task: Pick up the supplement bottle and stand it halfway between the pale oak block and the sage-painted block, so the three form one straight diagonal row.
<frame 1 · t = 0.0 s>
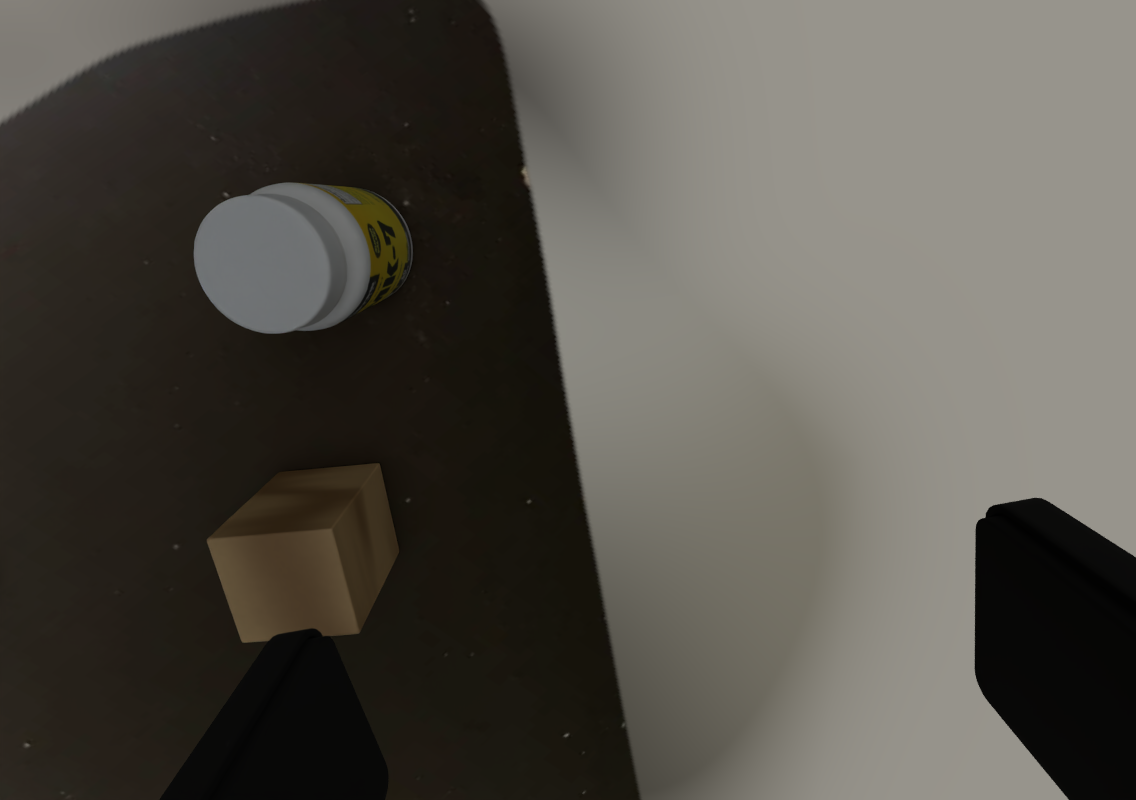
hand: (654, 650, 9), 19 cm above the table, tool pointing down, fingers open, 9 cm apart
oak block: (340, 512, 29), on the table
supplement bottle: (361, 245, 25), on the table
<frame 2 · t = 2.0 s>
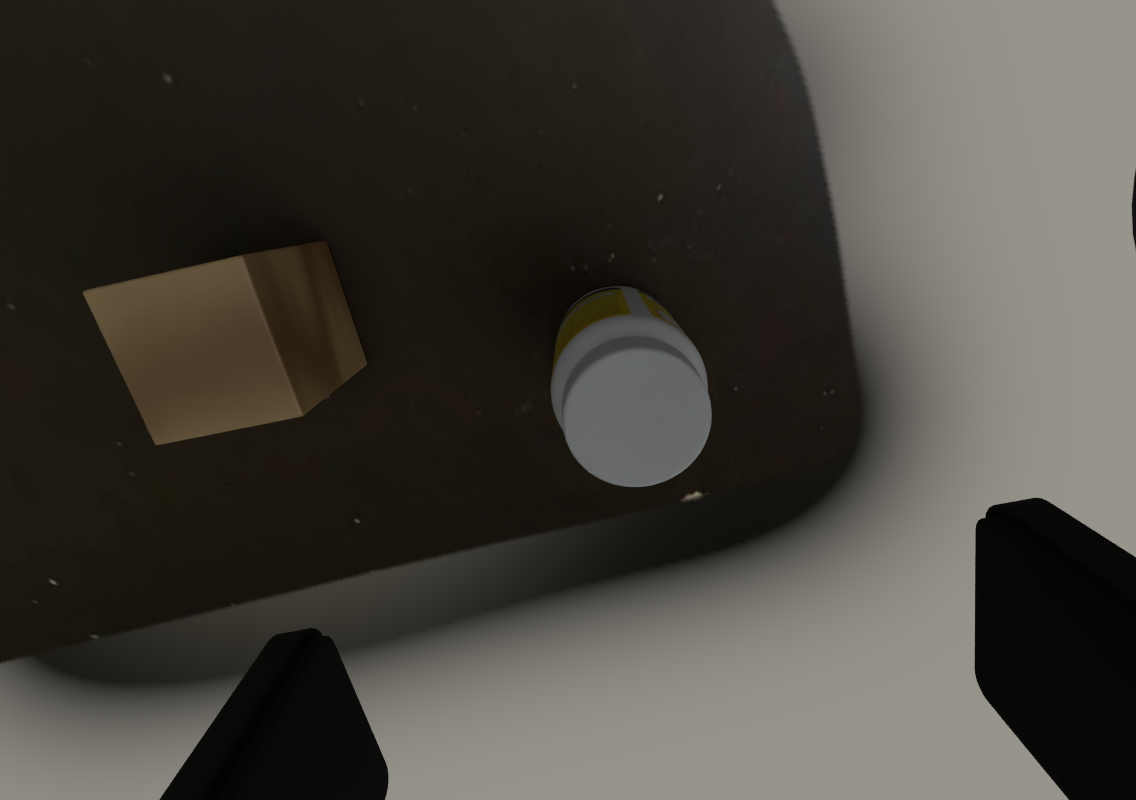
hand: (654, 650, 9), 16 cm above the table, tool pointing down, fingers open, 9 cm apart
oak block: (288, 317, 23), on the table
supplement bottle: (616, 343, 24), on the table
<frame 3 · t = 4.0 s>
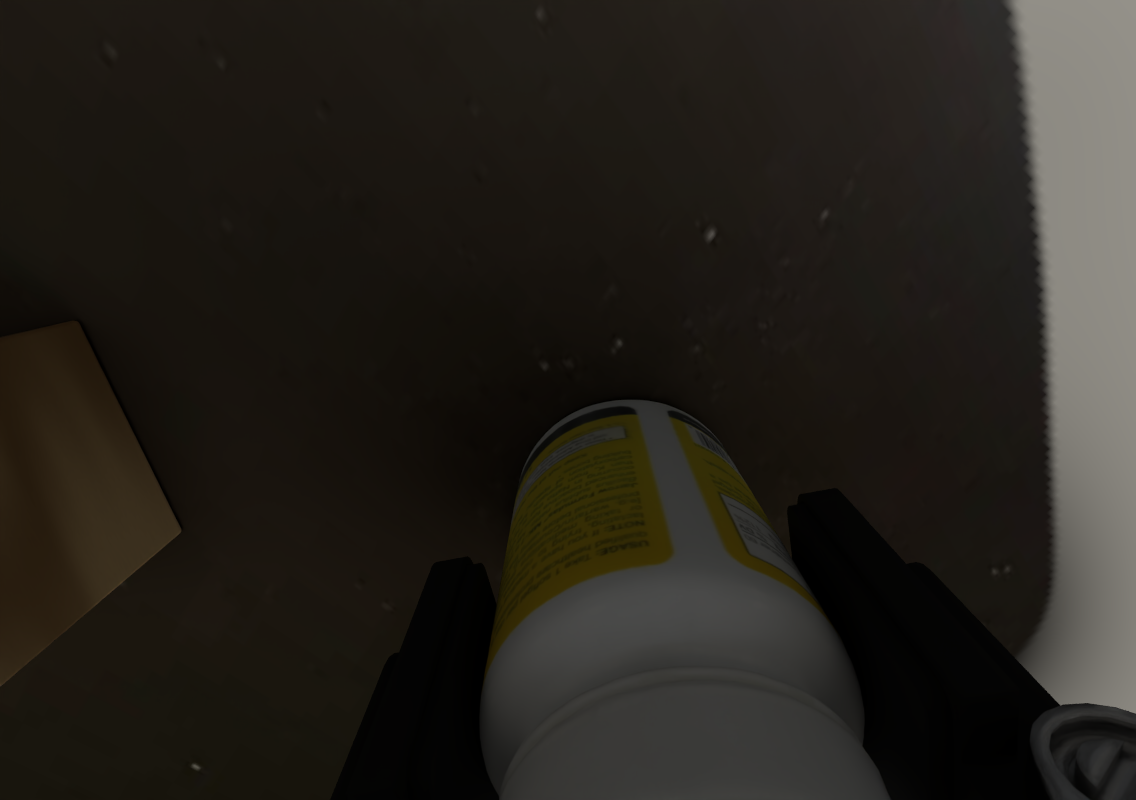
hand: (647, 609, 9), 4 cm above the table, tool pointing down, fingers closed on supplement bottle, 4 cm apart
oak block: (29, 454, 13), on the table
supplement bottle: (625, 491, 13), on the table, touching gripper
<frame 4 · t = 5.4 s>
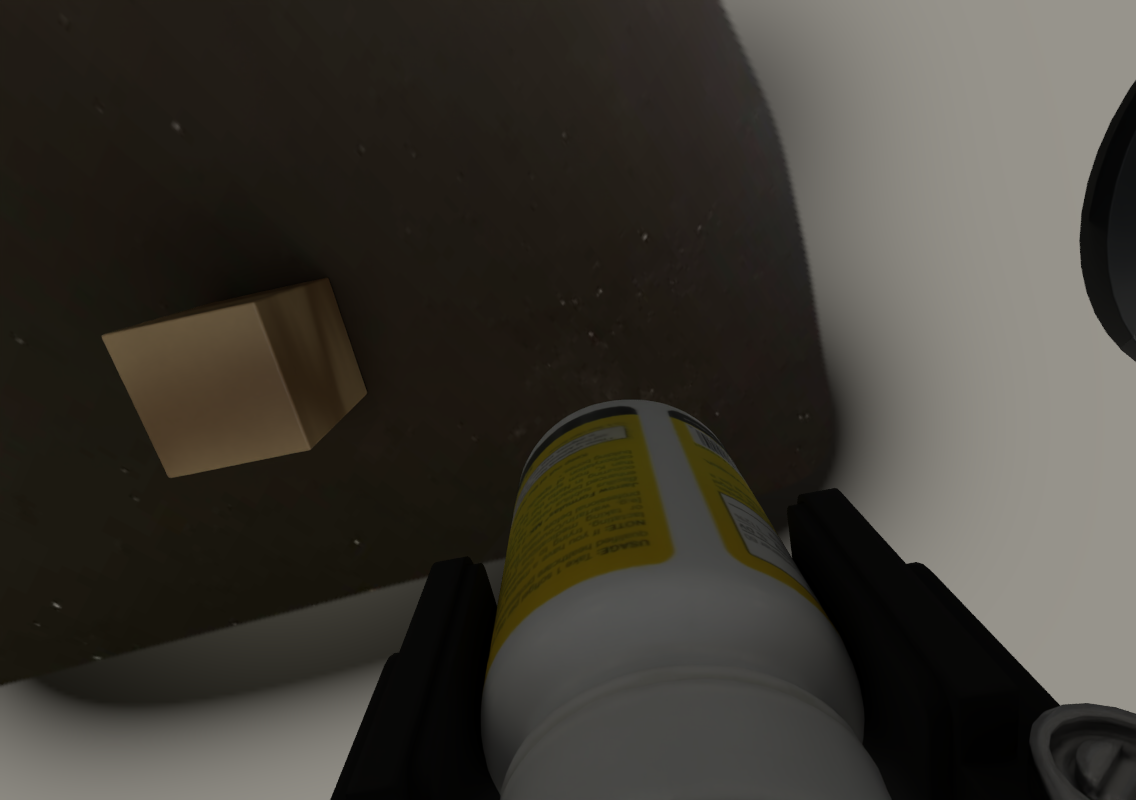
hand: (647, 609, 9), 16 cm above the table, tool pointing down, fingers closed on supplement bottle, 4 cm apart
oak block: (291, 349, 24), on the table
supplement bottle: (626, 490, 13), point 12 cm above the table, touching gripper
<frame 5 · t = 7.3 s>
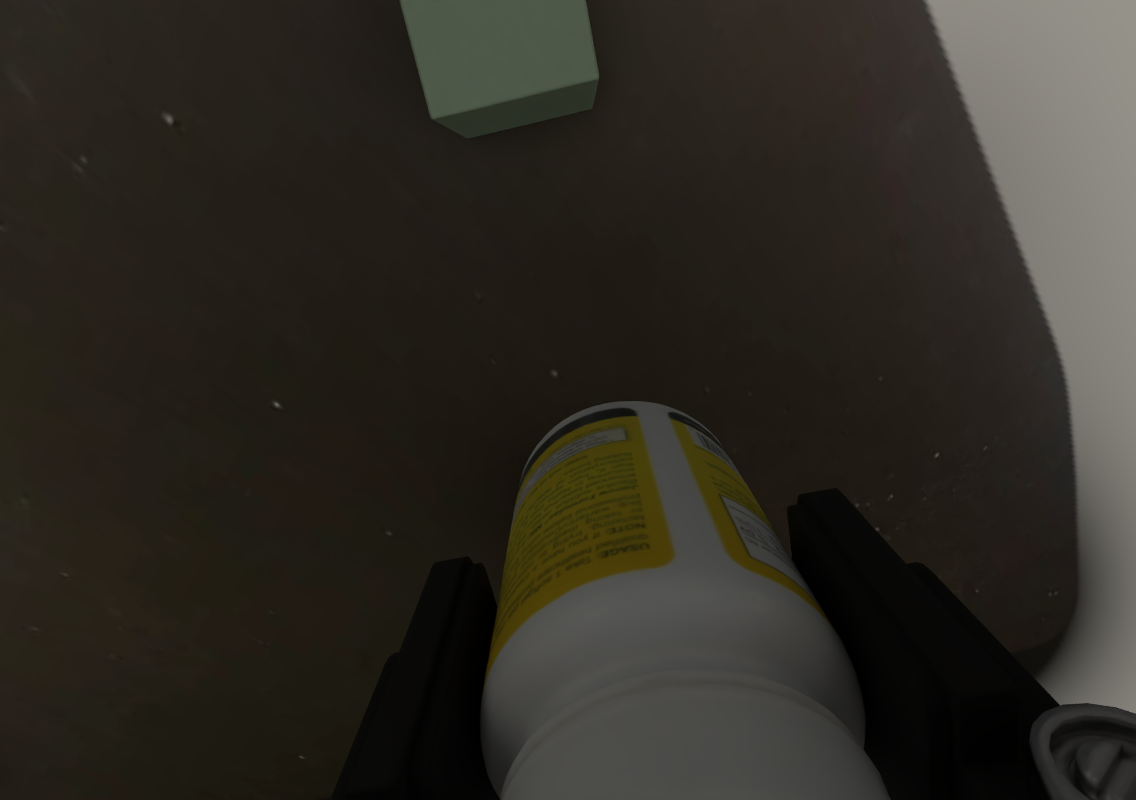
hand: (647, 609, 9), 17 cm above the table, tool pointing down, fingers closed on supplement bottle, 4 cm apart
supplement bottle: (626, 492, 13), point 13 cm above the table, touching gripper
sage block: (513, 51, 22), on the table
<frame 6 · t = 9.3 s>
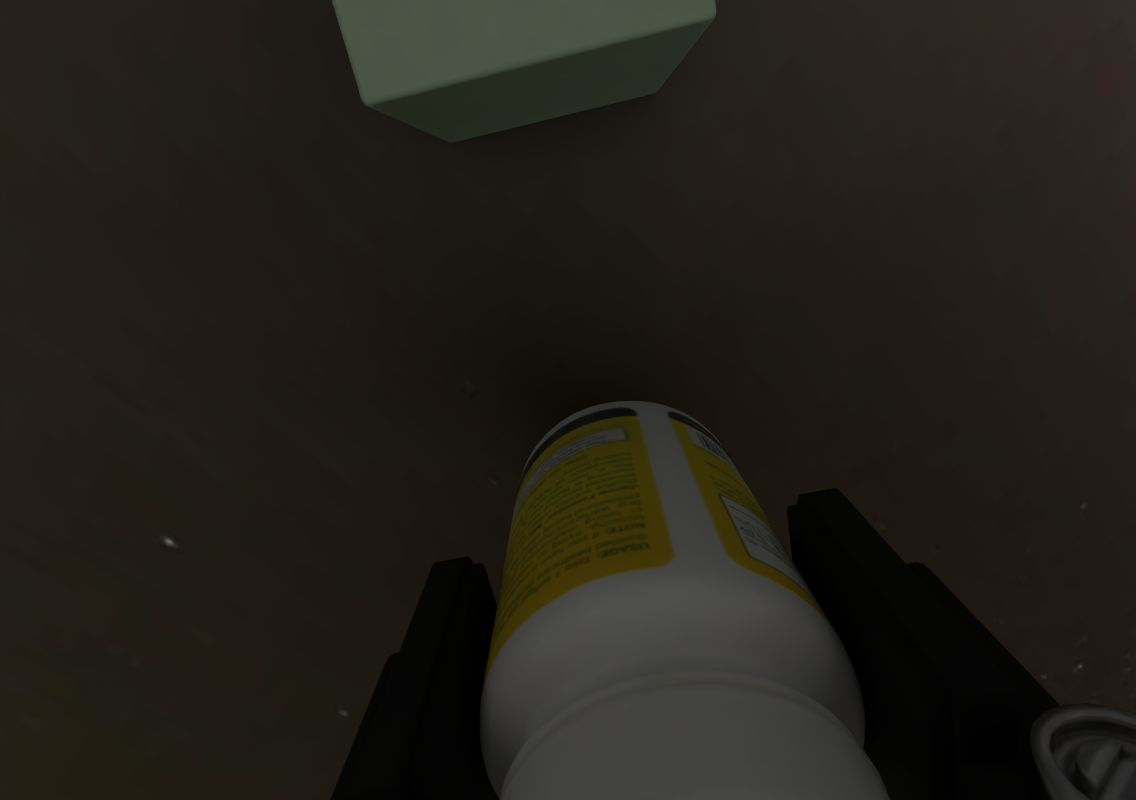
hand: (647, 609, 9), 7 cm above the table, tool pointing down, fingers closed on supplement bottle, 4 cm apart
supplement bottle: (626, 492, 13), point 3 cm above the table, touching gripper
when the fingers open (4 cm above the table, at t = 10.6 s): supplement bottle stays where it is, on the table.
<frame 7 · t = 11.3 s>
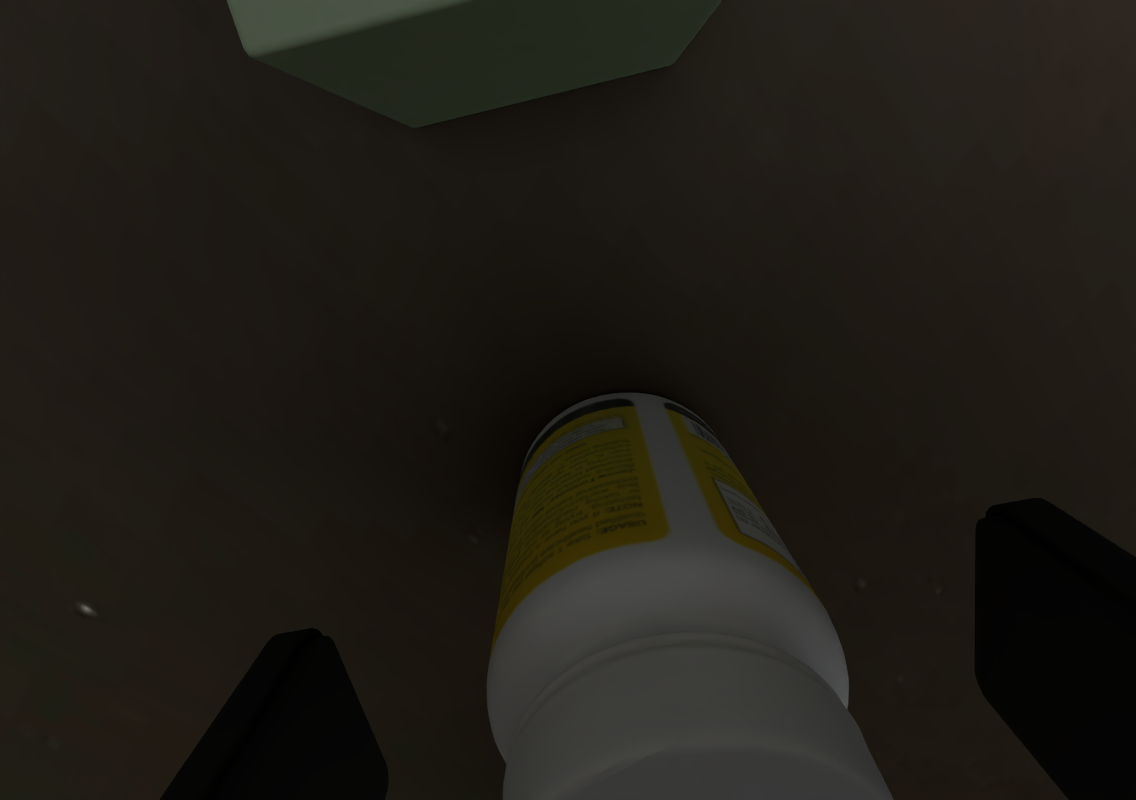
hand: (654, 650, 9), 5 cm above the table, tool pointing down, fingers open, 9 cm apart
supplement bottle: (623, 481, 14), on the table
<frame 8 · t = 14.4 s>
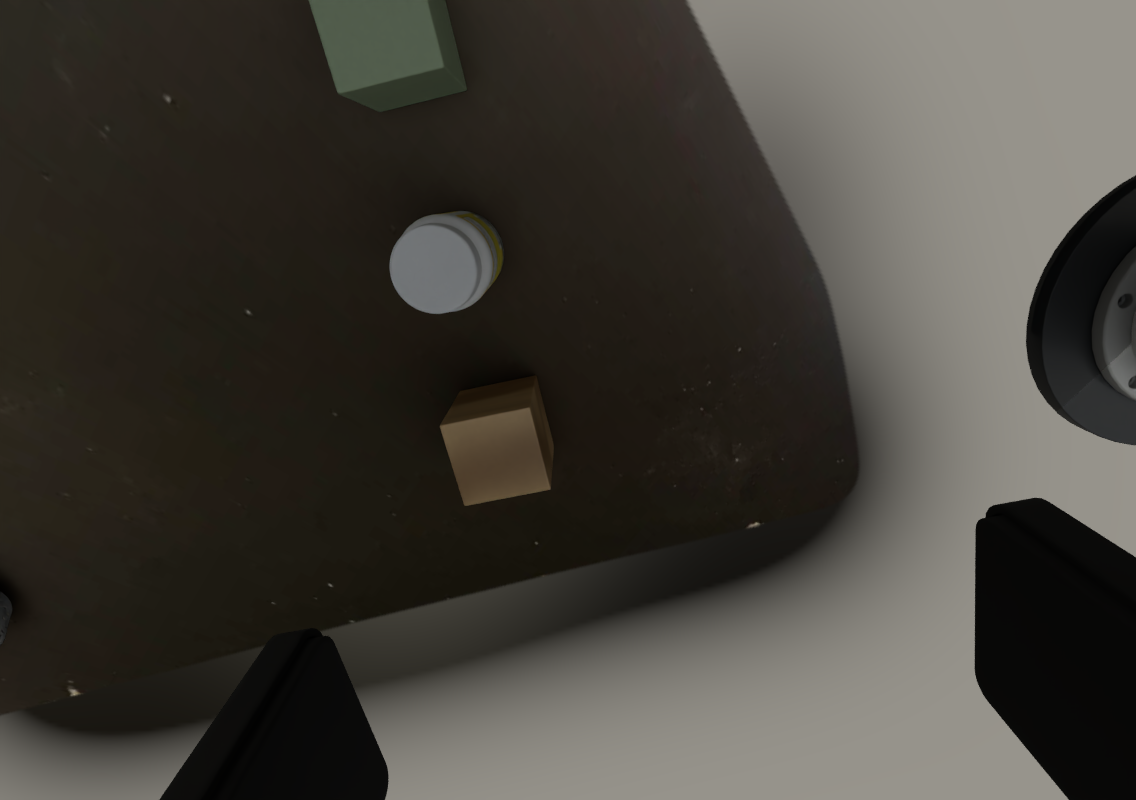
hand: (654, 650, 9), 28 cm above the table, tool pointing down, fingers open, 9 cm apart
oak block: (507, 419, 38), on the table
supplement bottle: (465, 252, 34), on the table
sage block: (409, 50, 31), on the table
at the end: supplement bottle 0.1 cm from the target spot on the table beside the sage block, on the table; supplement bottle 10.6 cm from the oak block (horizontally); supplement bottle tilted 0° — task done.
